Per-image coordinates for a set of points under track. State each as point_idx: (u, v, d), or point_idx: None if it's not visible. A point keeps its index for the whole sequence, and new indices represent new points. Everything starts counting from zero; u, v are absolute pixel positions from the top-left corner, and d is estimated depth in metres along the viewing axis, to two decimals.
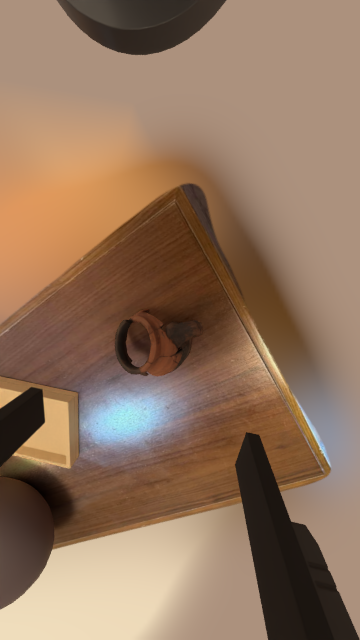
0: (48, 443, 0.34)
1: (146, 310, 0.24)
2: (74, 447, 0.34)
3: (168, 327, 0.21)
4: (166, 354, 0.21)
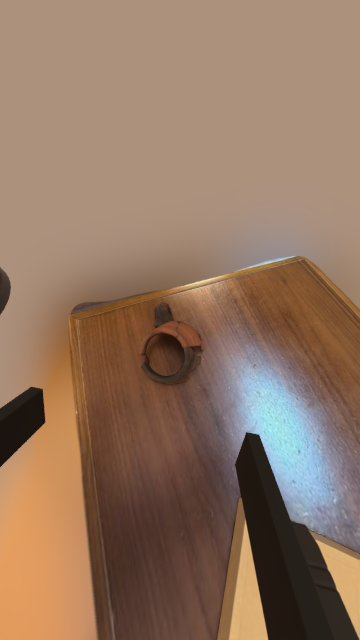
0: None
1: None
2: (354, 554, 0.18)
3: (155, 324, 0.25)
4: (175, 326, 0.24)
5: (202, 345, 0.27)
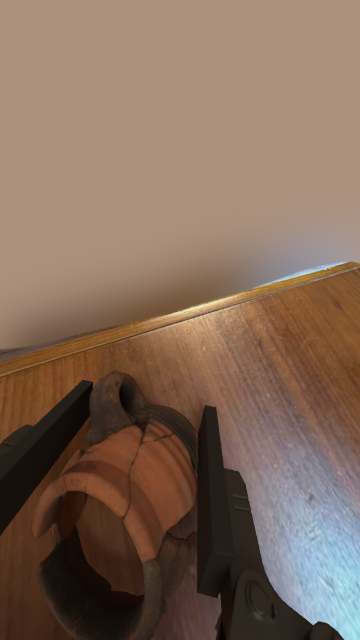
0: None
1: (69, 489, 0.12)
2: None
3: (87, 436, 0.10)
4: (131, 453, 0.09)
5: None
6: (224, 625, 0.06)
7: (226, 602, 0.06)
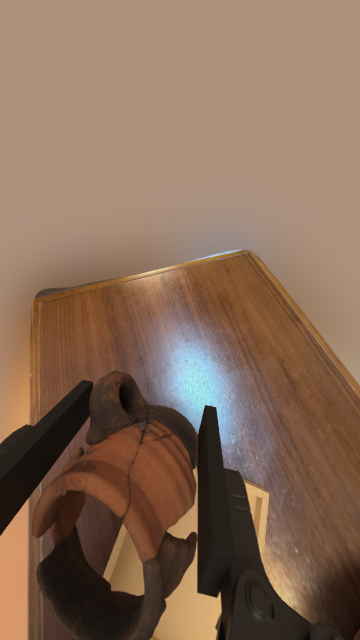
0: None
1: None
2: None
3: (87, 436, 0.10)
4: (131, 453, 0.09)
5: None
6: (224, 625, 0.06)
7: (226, 602, 0.06)
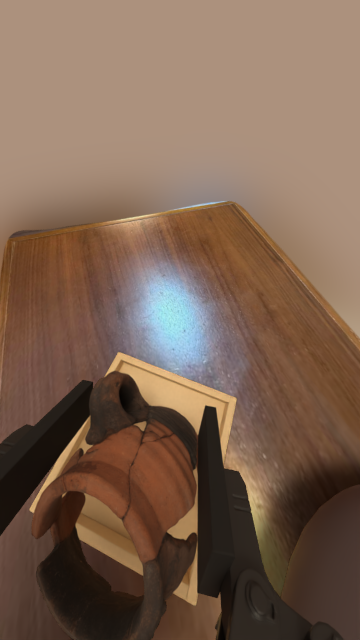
0: None
1: None
2: None
3: (87, 436, 0.10)
4: (131, 454, 0.09)
5: None
6: (224, 625, 0.06)
7: (226, 602, 0.06)
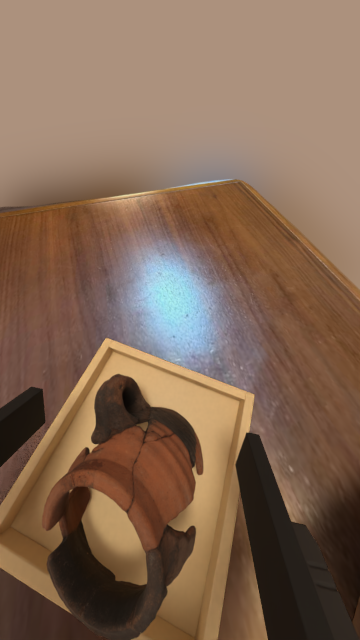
0: (203, 447, 0.15)
1: (75, 486, 0.13)
2: None
3: (93, 436, 0.11)
4: (134, 452, 0.10)
5: (199, 463, 0.13)
6: None
7: None
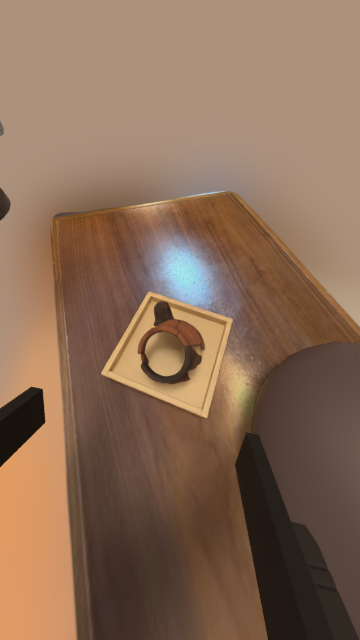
0: (205, 345, 0.29)
1: None
2: None
3: (155, 322, 0.25)
4: (175, 324, 0.23)
5: (203, 344, 0.26)
6: None
7: None
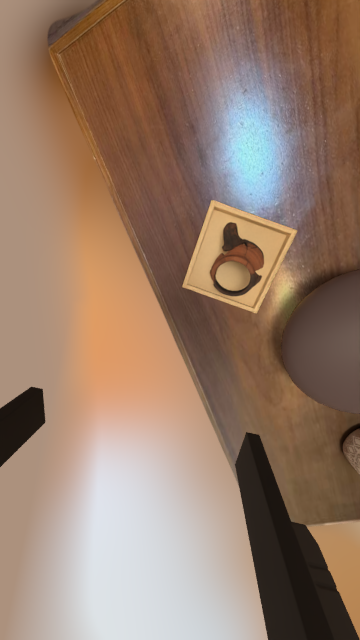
0: None
1: (211, 270, 0.33)
2: None
3: (224, 248, 0.29)
4: (244, 251, 0.27)
5: None
6: None
7: None
